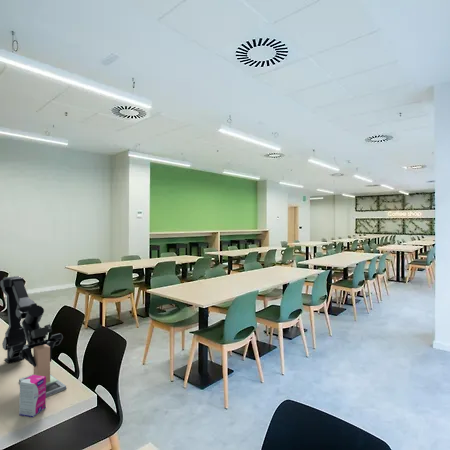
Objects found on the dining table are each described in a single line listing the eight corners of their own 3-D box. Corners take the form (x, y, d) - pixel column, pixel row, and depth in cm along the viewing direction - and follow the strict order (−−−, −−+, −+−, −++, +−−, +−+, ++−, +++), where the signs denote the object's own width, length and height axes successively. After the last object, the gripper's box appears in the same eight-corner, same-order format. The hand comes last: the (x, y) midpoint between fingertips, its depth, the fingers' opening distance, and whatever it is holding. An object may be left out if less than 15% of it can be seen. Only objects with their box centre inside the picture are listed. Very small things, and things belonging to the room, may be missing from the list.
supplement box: (33, 418, 106) (33, 384, 106) (18, 415, 107) (18, 382, 107) (46, 408, 112) (46, 375, 112) (32, 406, 113) (32, 374, 113)
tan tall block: (33, 382, 127) (33, 347, 127) (45, 377, 131) (45, 343, 130) (38, 385, 124) (37, 350, 124) (50, 381, 128) (50, 346, 128)
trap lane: (19, 382, 130) (19, 378, 130) (45, 373, 138) (45, 369, 138) (38, 399, 117) (38, 396, 117) (66, 388, 124) (66, 385, 124)
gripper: (11, 325, 122) (21, 361, 115) (61, 314, 137) (73, 346, 130) (4, 340, 128) (14, 376, 121) (53, 328, 142) (64, 359, 135)
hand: (43, 363), depth 126 cm, fingers open, 5 cm apart
